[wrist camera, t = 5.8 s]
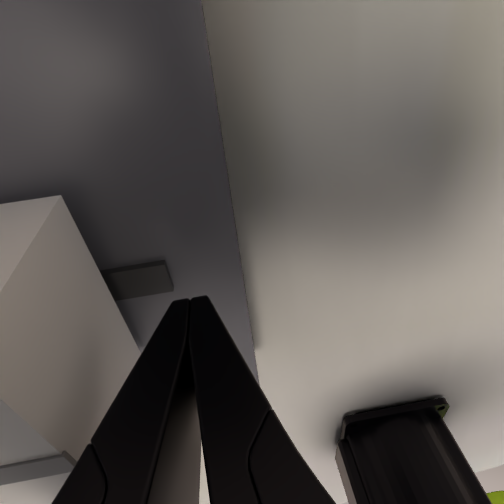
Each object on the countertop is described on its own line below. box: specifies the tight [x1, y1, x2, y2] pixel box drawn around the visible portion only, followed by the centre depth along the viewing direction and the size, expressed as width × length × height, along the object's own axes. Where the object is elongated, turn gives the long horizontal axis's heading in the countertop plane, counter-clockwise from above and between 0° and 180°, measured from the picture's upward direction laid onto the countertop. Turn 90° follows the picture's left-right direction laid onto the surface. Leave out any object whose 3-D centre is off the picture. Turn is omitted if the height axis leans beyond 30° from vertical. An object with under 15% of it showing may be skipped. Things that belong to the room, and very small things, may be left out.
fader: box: [0, 195, 141, 504], centre depth 7 cm, size 3×6×4 cm, turn 5°
